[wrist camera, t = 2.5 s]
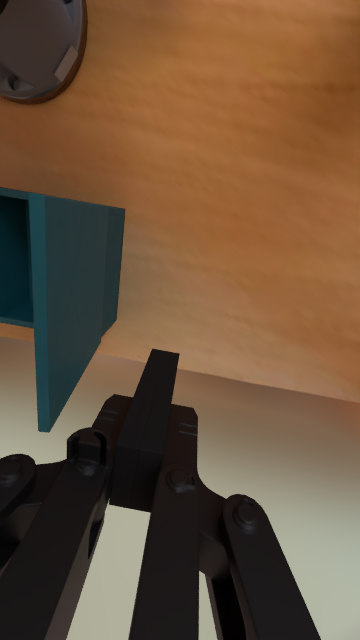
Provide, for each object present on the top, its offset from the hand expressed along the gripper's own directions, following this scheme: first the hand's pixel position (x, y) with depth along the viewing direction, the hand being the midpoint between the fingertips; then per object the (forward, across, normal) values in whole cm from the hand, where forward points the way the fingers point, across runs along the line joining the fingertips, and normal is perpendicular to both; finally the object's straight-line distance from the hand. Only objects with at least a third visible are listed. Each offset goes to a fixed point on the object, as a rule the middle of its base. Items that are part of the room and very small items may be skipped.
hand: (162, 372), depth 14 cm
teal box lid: (+9, -9, 0) cm, 12 cm away
